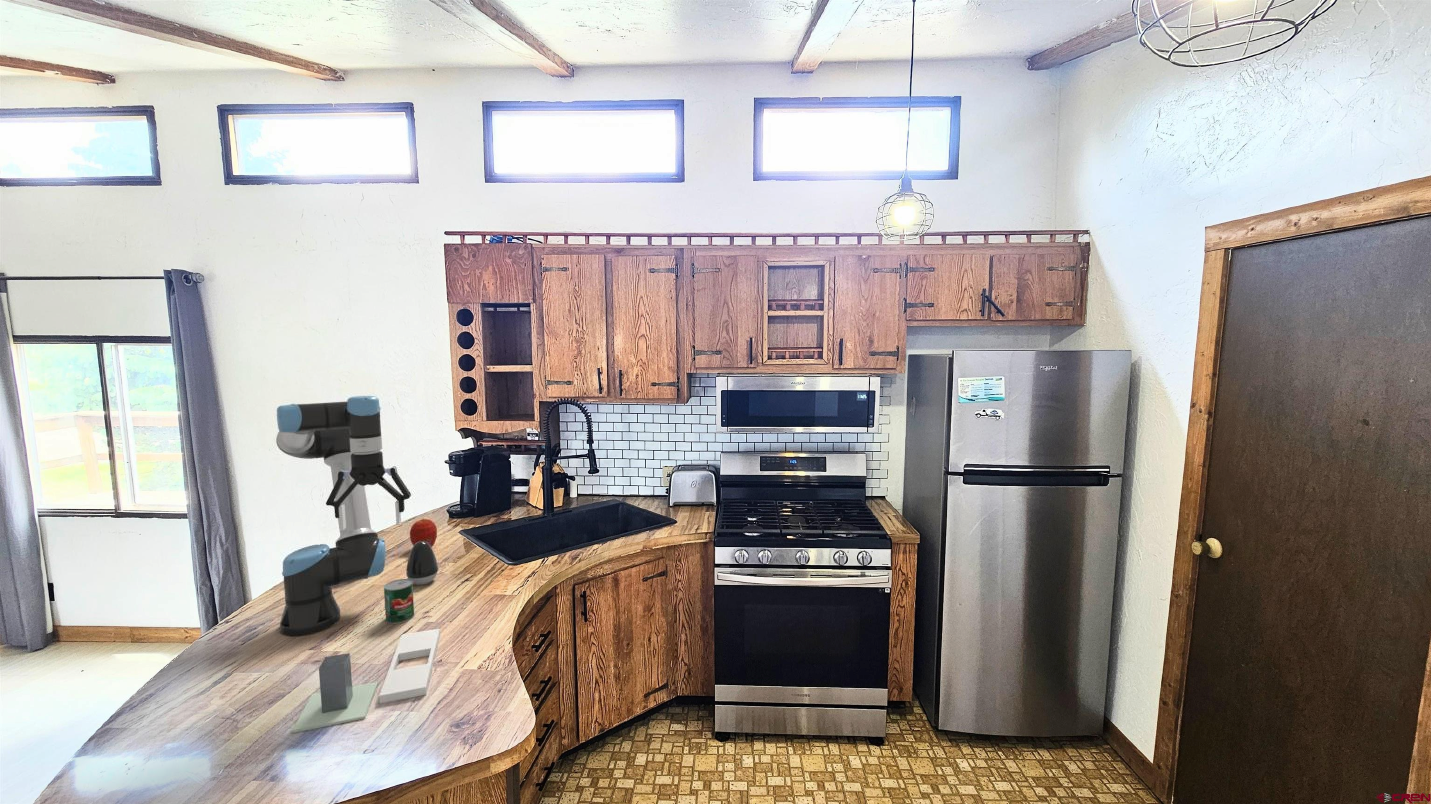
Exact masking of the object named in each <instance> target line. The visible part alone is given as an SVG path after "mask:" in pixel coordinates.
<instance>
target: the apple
mask: <svg viewBox="0 0 1431 804" xmlns="http://www.w3.org/2000/svg"><path fill="white" fill-rule="evenodd" d="M437 537H438V528H437V525H436V523H435V522H434V521H433V520H431V519H427V518H422V519H420V520H417V521H415V522H414V523H413V524H412V526H411V527H410V530H409V539H410V543H411V544H412V547H413V546H414V544H415V543H417V542H419V541H425V542H426V541H427V540H428V539H431V541H430V543H429V545H430V546H431V548H433V546H434V545H435V543H436V540H437Z"/></svg>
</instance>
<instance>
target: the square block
mask: <svg viewBox="0 0 1431 804" xmlns="http://www.w3.org/2000/svg"><path fill="white" fill-rule="evenodd" d="M318 676H319V689H320V692H321V704H322V713H327V712H332V711H337V710H342V709H347V708H348V706H349V704H350V701H351V699H352V697H353V690H352V686H353V680H352V679H353V677H352V666H351V653H350V652H349V653H343V654H335V655H330V656H325V657H324V659H323V660H322V663H321V664H320V665H319V668H318Z"/></svg>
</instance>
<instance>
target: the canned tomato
mask: <svg viewBox="0 0 1431 804" xmlns="http://www.w3.org/2000/svg"><path fill="white" fill-rule="evenodd" d="M413 585H414V584H413V581H412V580H410V579H408V578H401V579H396V580H392V581H389V582H387V583H386V584H385V585H384V586H383V593H384V594H383V595H384V612H385V622H386V623H387V624H393V625H395V624H396V625H397V624H401V623H406V622H408V621H410V620H411V619H412V618H414V617H415V603H414V602H415V601H414V589H413V588H414V587H413Z"/></svg>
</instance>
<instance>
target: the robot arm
mask: <svg viewBox="0 0 1431 804" xmlns="http://www.w3.org/2000/svg"><path fill="white" fill-rule="evenodd" d="M380 406H381V405H380V399H379V398H378V396H375V395H357V396H350V397H348V398H347V401H335V402H334V401H332V402H331V401H330V402H317V403H315V402H314V403H313V402H312V403H297V404H296V403H291V404H285V405H279V406H278V407H277V408H276V421H277V429H278V432H277V435H276V439H275V440H276V441H275V443H276V445H277V448H278V449H279V450H280V451H281V452H282V453H284V454H286V455H288V456H290V457H293V458H297V459H304V460H308V459H309V460H312V459H321V458H322V459H323V462H324V464H325V465H326V466H328V467H330V472H331V479H332V480H331V481H332V486H333V487H332V489H331V492H330V494H329V496H328V497H327V500H326V502H325V505H326V506H332V507H333V509H334V517H335V519H337V521H338V529H339V537H338V538H337V539H336V541H335V542H334V543H335V546H334V547H331V548H330V546H329V545H328V544H327V543H326V544H325V543H321V544H312V545H309V546H304V547H302V548H299V549H297V550H294V551H293V552H291V553H289V554H288V555H286V556H285V558H284V559H283V561H282V572H281V575H282V576H283V587H284V588H283V589H284V599H285V600H284V601H285V603H284V604H285V605H284V609H283V611H282V616H281V619H280V622H279V631H280V634H282V635H284V636H287V637H298V636H305V635H310V634H311V635H312V634H314V633H317V632H320V631H324V630H325V629H328V628H330V627H332V626H334V625H335V624H337V623H338V622H339V621H340V619H341V618H342V617H341V616H342V615H341V608H340V606H339V604H338V603H337V601H336V599H335V596H334V595H333V587H335V586H340V585H345V584H348V583H353V582H357V581H361V580H363V579H364V580H365V579H366V580H368V579H369V578H372V577H376V576H379V575H381V574H382V573H383V571H384V569H385V565H386V555H387V554H386V550H387V549H386V543H385V538H383V537H379V534H378V532H377V531H375V530H373V529H372V525H371V519H370V513H369V508H368V507H369V505H368V501H367V495H366V494H367V493H366V486H374V485H375V486H376V485H378V486H380V487H381V488H383V489H384V490H385V491H386V492H388V493H389V494H390V495H391V496H392V497H393V498H394V499H396V501H395V502H394V506H395V521H396V526H399V525H400V524H401V523H402V517H401V516H402V513H404V511H405V508H406V507H405V501H406V500H409V499H410V497H411V496H412V494H411V492H410V490H409V488H408V487H407V485H406V484H405V483H404V481H403V480H402V478H401V476H400V475H399V474H398V469H397V467H396V466H392V467H388V468H385V466H384V456H383V455H384V453H383V451H382V449H383V439H382V430H381V429H382V427H381V426H382V425H381V407H380ZM385 474H387V475H388V476H390V477H391V479H392V480H393V482H394V483H395V485H396V487H397V488H398V489H399V490H400V492H399V491H398V490H397V489H396V488H395V487H394V486H393V485H392V484H391V483H390V482H388V481H387V479H386V478H385V477H384V475H385Z"/></svg>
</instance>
